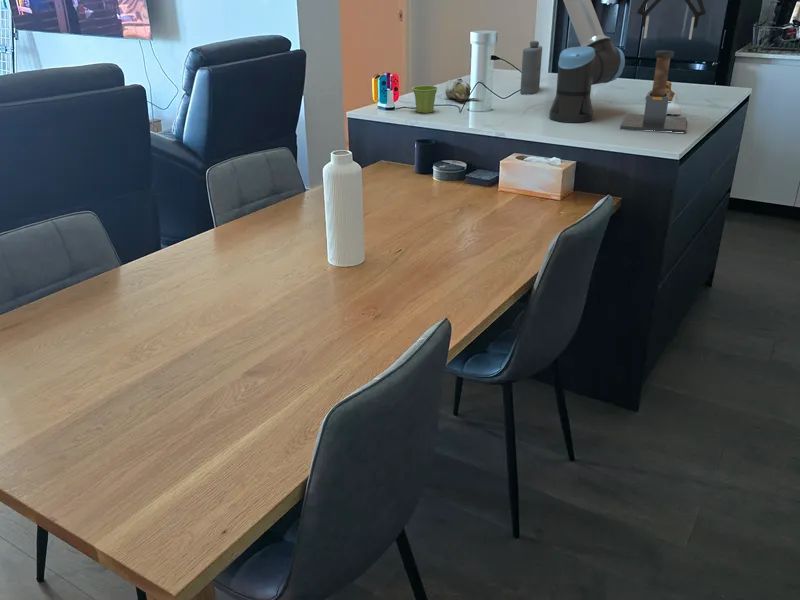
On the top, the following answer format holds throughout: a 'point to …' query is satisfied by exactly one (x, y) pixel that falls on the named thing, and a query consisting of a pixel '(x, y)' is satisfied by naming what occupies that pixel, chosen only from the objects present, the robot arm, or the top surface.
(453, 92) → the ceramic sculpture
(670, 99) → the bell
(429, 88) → the plant pot
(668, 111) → the garlic bulb
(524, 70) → the flask
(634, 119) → the sleeve stand
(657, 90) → the post
